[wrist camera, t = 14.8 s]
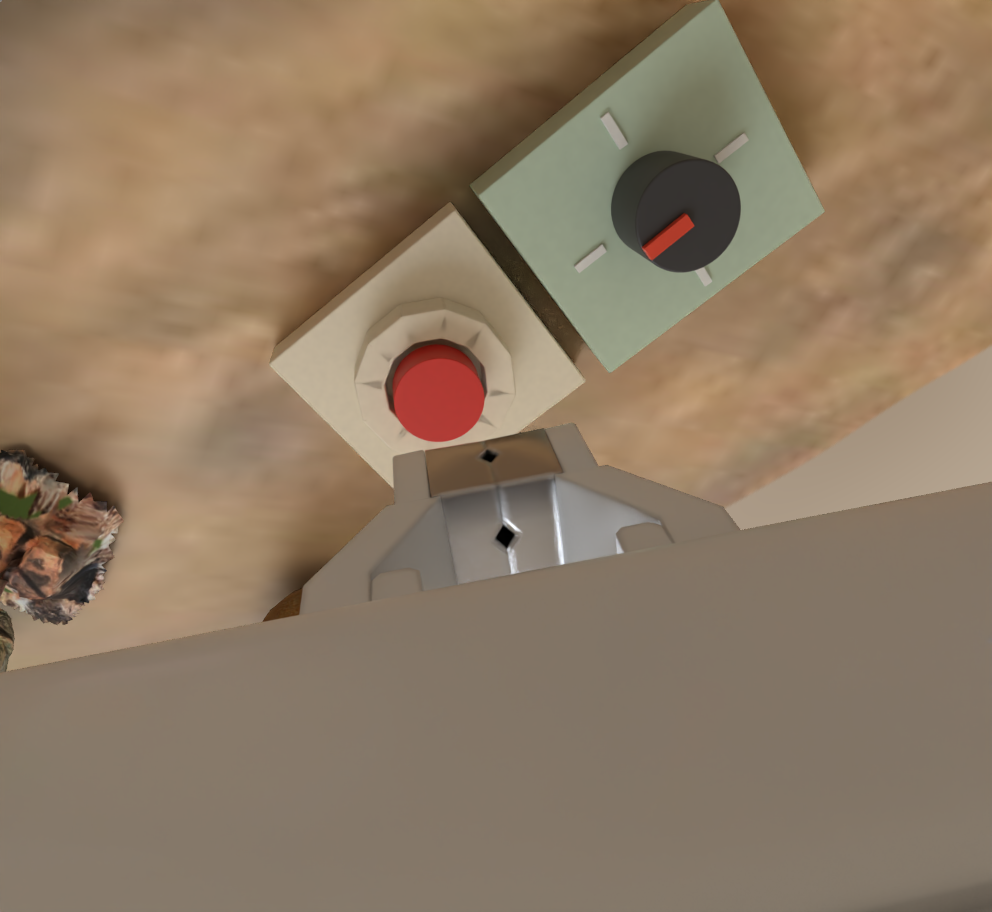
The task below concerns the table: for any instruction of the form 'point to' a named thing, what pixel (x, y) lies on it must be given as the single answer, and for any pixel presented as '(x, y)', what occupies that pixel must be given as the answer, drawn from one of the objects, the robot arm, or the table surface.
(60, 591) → the grey mottled tall figure
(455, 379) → the power button
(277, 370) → the switch box
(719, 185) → the dial
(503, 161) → the dial panel
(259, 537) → the table surface
